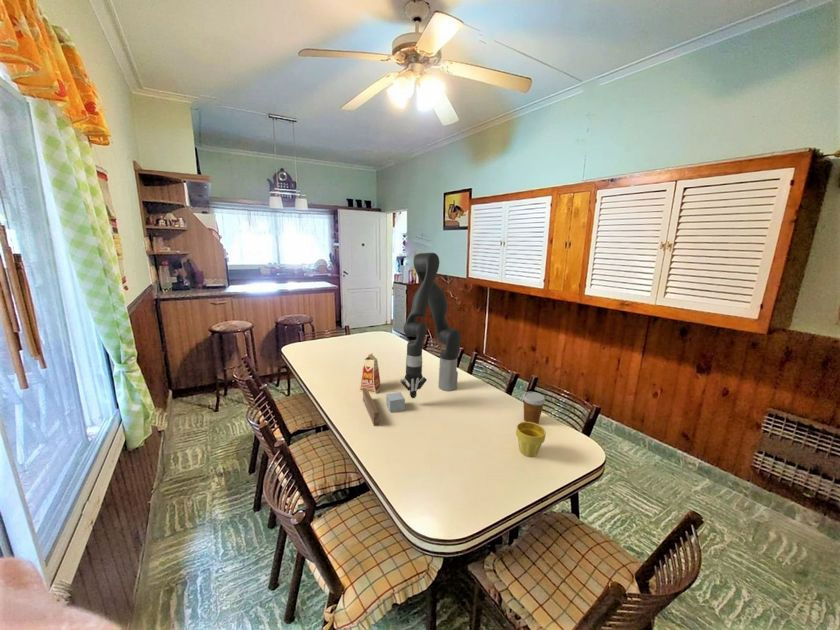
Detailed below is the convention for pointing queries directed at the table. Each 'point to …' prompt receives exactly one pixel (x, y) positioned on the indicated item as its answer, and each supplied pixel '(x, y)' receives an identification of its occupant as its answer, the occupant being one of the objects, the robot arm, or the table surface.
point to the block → (395, 402)
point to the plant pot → (530, 438)
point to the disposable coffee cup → (533, 406)
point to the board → (370, 407)
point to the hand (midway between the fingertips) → (413, 397)
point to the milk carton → (370, 375)
